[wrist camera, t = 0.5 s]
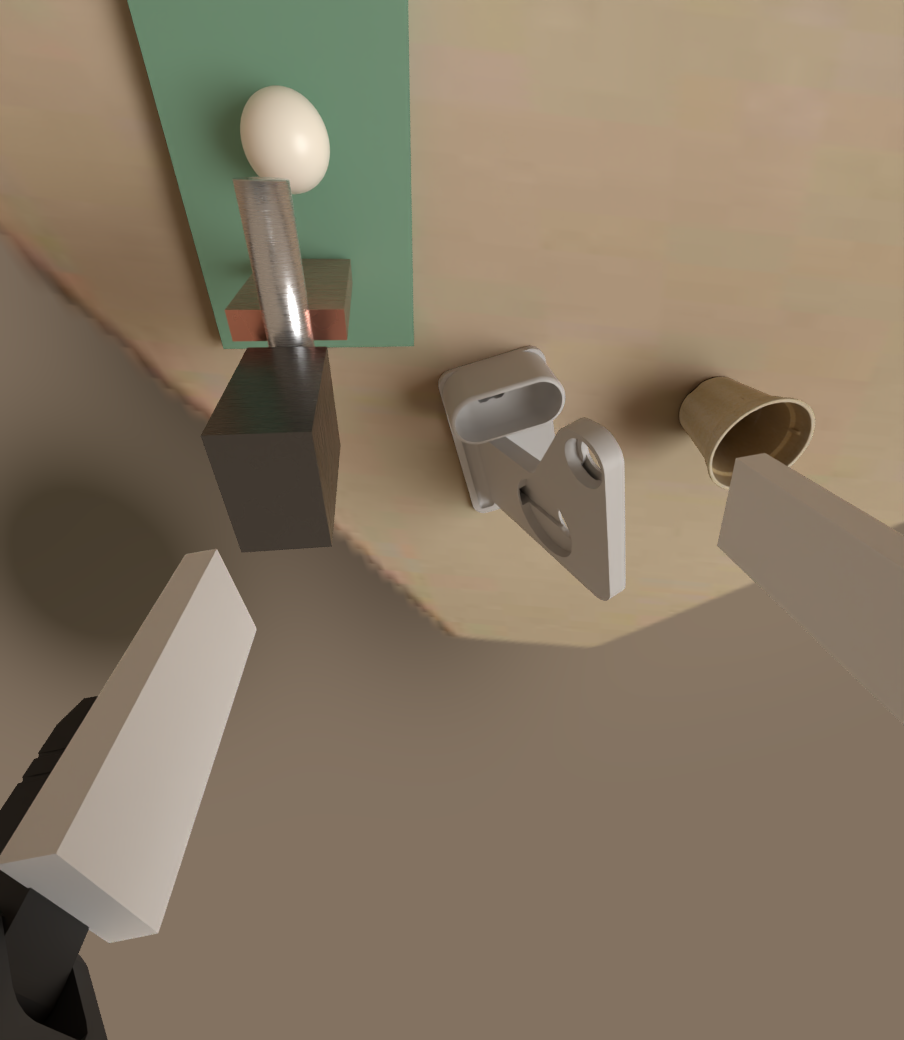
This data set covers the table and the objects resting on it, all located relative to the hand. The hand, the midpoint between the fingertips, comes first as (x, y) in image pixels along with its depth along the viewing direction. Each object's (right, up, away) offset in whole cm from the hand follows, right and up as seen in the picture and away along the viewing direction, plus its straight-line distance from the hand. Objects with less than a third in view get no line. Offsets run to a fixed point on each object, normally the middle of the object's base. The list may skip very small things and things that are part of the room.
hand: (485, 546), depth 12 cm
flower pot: (+26, +13, +36) cm, 46 cm away
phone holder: (+4, +9, +36) cm, 37 cm away
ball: (-11, +23, +16) cm, 30 cm away
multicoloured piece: (-11, +19, +22) cm, 31 cm away
